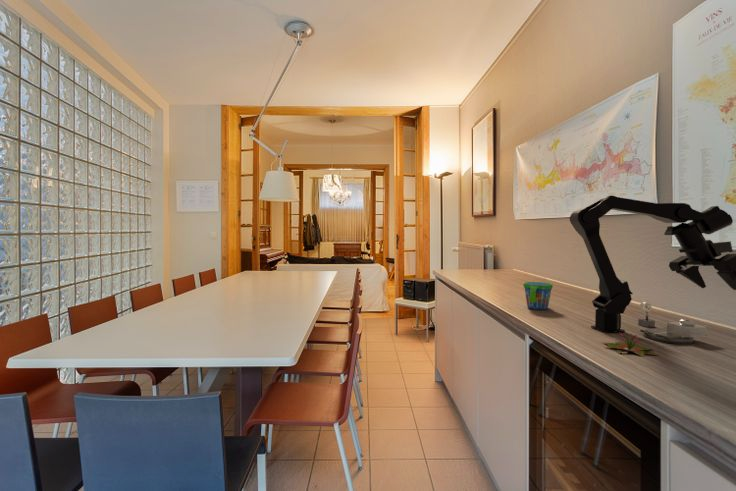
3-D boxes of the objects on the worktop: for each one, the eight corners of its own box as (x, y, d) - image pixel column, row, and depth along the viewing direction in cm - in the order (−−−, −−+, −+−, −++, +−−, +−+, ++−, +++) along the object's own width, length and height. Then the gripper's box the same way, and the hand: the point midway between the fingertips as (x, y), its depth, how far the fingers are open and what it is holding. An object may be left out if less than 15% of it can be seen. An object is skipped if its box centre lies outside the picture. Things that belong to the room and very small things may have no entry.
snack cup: (531, 303, 149) (531, 280, 148) (558, 307, 141) (558, 282, 141) (516, 309, 138) (516, 283, 138) (544, 313, 130) (544, 286, 130)
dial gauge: (647, 327, 111) (648, 303, 111) (638, 324, 114) (638, 301, 114) (655, 326, 112) (655, 302, 112) (645, 324, 115) (645, 301, 115)
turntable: (673, 345, 93) (673, 339, 93) (633, 334, 104) (633, 328, 104) (703, 342, 96) (704, 336, 96) (661, 331, 106) (661, 325, 106)
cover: (690, 337, 94) (691, 323, 94) (666, 331, 100) (667, 318, 100) (706, 336, 96) (707, 322, 96) (682, 330, 102) (682, 317, 102)
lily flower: (671, 361, 83) (671, 342, 83) (616, 358, 85) (617, 339, 85) (640, 345, 95) (641, 328, 95) (593, 342, 97) (593, 326, 97)
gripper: (749, 225, 94) (780, 276, 93) (686, 232, 113) (711, 275, 112) (715, 244, 94) (745, 295, 93) (657, 248, 112) (681, 291, 111)
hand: (719, 288), depth 102 cm, fingers open, 9 cm apart
